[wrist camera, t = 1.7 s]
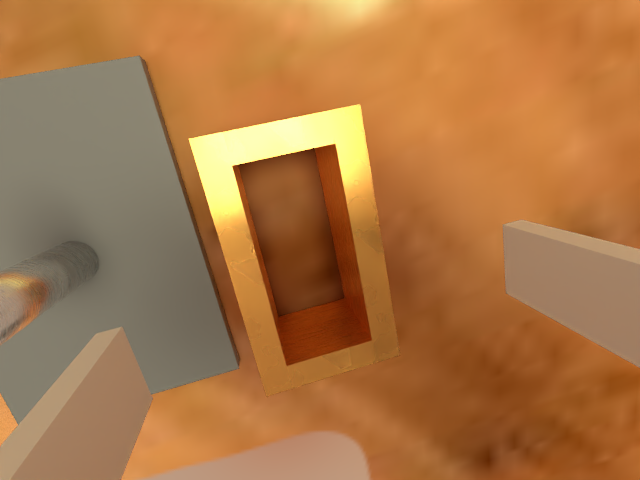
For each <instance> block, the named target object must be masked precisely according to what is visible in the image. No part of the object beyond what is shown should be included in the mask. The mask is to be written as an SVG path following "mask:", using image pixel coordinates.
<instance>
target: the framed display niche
mask: <svg viewBox="0 0 640 480" xmlns="http://www.w3.org/2000/svg"><path fill="white" fill-rule="evenodd" d="M189 141H190V144H191V148H192V151H193V154H194V158H195V161H196V164H197V168H198V171H199V174H200V178H201V181H202V184H203V188H204V191H205V194H206V198H207V201H208V204H209V207H210V211H211V214H212V217H213V221H214V224H215V227H216V231H217V234H218V237H219V241H220V244H221V247H222V251H223V254H224V257H225V261H226V264H227V267H228V271H229V274H230V277H231V281H232V284H233V287H234V291H235V294H236V297H237V301H238V304H239V307H240V311H241V314H242V317H243V321H244V324H245V327H246V331H247V334H248V337H249V341H250V344H251V347H252V351H253V354H254V357H255V361H256V364H257V367H258V371H259V374H260V377H261V381H262V384H263V387H264V391H265V394H266V397H267V396H271V395H274V394H277V393H280V392H283V391H287V390H290V389H293V388H296V387H300V386H303V385H306V384H309V383H312V382H316V381H319V380H322V379H325V378H329V377H332V376H335V375H338V374H341V373H345V372H348V371H351V370H354V369H358V368H361V367H364V366H367V365H371V364H374V363H377V362H380V361H383V360H387V359H390V358H393V357H396V356H400V350H399V344H398V338H397V331H396V325H395V319H394V313H393V306H392V300H391V294H390V288H389V282H388V275H387V269H386V263H385V257H384V251H383V244H382V238H381V232H380V226H379V220H378V213H377V207H376V201H375V195H374V189H373V182H372V176H371V170H370V164H369V157H368V151H367V145H366V139H365V133H364V126H363V120H362V114H361V108H360V105H355V106H350V107H345V108H340V109H335V110H330V111H325V112H320V113H315V114H310V115H305V116H300V117H295V118H290V119H285V120H280V121H276V122H271V123H266V124H261V125H256V126H251V127H246V128H241V129H236V130H231V131H226V132H221V133H216V134H211V135H206V136H201V137H196V138H191V139H189ZM311 148H314V149H315V154H316V159H317V164H318V169H319V174H320V179H321V183H322V188H323V193H324V198H325V203H326V208H327V213H328V218H329V223H330V228H331V233H332V238H333V243H334V247H335V252H336V257H337V262H338V267H339V272H340V277H341V282H342V287H343V292H344V297H345V298H344V299H340V300H337V301H333V302H330V303H326V304H322V305H319V306H315V307H312V308H308V309H305V310H301V311H297V312H294V313H290V314H287V315H283V316H280V317H279V316H278V313H277V309H276V305H275V301H274V298H273V294H272V290H271V287H270V283H269V279H268V275H267V272H266V268H265V264H264V260H263V257H262V253H261V249H260V245H259V242H258V238H257V234H256V230H255V227H254V223H253V219H252V215H251V212H250V208H249V204H248V200H247V197H246V193H245V189H244V185H243V182H242V178H241V174H240V171H239V167H238V164H242V163H247V162H251V161H256V160H260V159H265V158H270V157H274V156H279V155H284V154H288V153H293V152H298V151H302V150H307V149H311Z"/></svg>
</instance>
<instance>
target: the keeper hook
mask: <svg viewBox="0 0 640 480" xmlns="http://www.w3.org/2000/svg"><path fill="white" fill-rule="evenodd" d="M98 268H99V258H98V255H97V253H96V252H95V250H94V249H93V248H92V247H90V246H89V245H87V244H85V243H83V242H80V241H67V242H63V243H61V244H59V245H57V246H55V247H52V248H50V249H48V250H46V251H44V252H41V253H39V254H37V255H35V256H33V257H30V258H28V259H26V260H24V261H22V262H19V263H17V264H15V265H13V266H10V267H8V268H6V269H4V270H2V271H0V345H2V344H3V343H4V342H6V341H7V340H8V339H10V338H11V337H12V336H14V335H15V334H16V333H18V332H19V331H20V330H22V329H23V328H24V327H26V326H27V325H28V324H30V323H31V322H32V321H34V320H35V319H36V318H38V317H39V316H40V315H42V314H43V313H44V312H46V311H47V310H48V309H50V308H51V307H52V306H54V305H55V304H56V303H58V302H59V301H60V300H62V299H63V298H64V297H66V296H67V295H68V294H70V293H71V292H72V291H74V290H75V289H76V288H78V287H79V286H80V285H82V284H83V283H84V282H86V281H87V280H89V279H90V278H91V277H92V276H94V275H95V274H96V272H97V270H98Z"/></svg>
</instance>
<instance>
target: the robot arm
mask: <svg viewBox="0 0 640 480" xmlns="http://www.w3.org/2000/svg"><path fill="white" fill-rule="evenodd" d="M503 241H504V263H505V285H506V294H508V295H510V296H512V297H514V298H515V299H517V300H519V301H521V302H523V303H524V304H526V305H528V306H530V307H532V308H533V309H535V310H537V311H539V312H541V313H542V314H544V315H546V316H548V317H550V318H551V319H553V320H555V321H557V322H559V323H560V324H562V325H564V326H566V327H568V328H569V329H571V330H573V331H575V332H577V333H578V334H580V335H582V336H584V337H586V338H587V339H589V340H591V341H593V342H595V343H596V344H598V345H600V346H602V347H604V348H605V349H607V350H609V351H611V352H613V353H614V354H616V355H618V356H620V357H622V358H623V359H625V360H627V361H629V362H631V363H632V364H634V365H636V366H638V367H640V249H637V248H633V247H629V246H625V245H621V244H617V243H613V242H609V241H605V240H601V239H597V238H593V237H589V236H585V235H581V234H577V233H573V232H569V231H565V230H561V229H557V228H553V227H549V226H545V225H541V224H537V223H533V222H529V221H525V220H518V221H514V222H510V223H507V224H503ZM152 400H153V398H152V396H151V393H150V391H149V389H148V386H147V384H146V382H145V379H144V377H143V375H142V372H141V370H140V367H139V365H138V363H137V360H136V358H135V356H134V353H133V351H132V349H131V346H130V344H129V342H128V339H127V337H126V334H125V332H124V330H123V327H119V328H115V329H111V330H108V331H104V332H100V333H96V334H95V335H94V336H93V338H92V339H91V340H90V341H89V342H88V344H87V345H86V346H85V347H84V348H83V349H82V351H81V352H80V353H79V354H78V355H77V357H76V358H75V359H74V360H73V361H72V362H71V364H70V365H69V366H68V367H67V368H66V369H65V371H64V372H63V373H62V374H61V375H60V377H59V378H58V379H57V380H56V381H55V382H54V384H53V385H52V386H51V387H50V388H49V389H48V391H47V392H46V393H45V394H44V395H43V397H42V398H41V399H40V400H39V401H38V402H37V404H36V405H35V406H34V407H33V408H32V410H31V411H30V412H29V413H28V414H27V415H26V417H25V418H24V419H23V420H22V421H21V422H20V424H19V425H18V426H17V427H16V428H15V430H14V431H13V432H12V433H11V434H10V435H9V437H8V438H7V439H6V440H5V441H4V442H3V444H2V445H1V446H0V480H121V478H122V475H123V473H124V470H125V468H126V465H127V463H128V460H129V458H130V455H131V453H132V450H133V448H134V445H135V443H136V440H137V437H138V435H139V432H140V430H141V427H142V425H143V422H144V420H145V417H146V415H147V412H148V410H149V407H150V405H151V402H152Z"/></svg>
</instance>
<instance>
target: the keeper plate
mask: <svg viewBox="0 0 640 480" xmlns="http://www.w3.org/2000/svg"><path fill="white" fill-rule="evenodd" d="M67 241H80V242H83V243H85V244H87V245H89V246H90V247H92V248H93V249H94V250H95V252H96V253H97V255H98V258H99V268H98V270H97V272H96V274H95V275H94V276H92V277H91V278H90V279H89V280H87V281H86V282H84V283H83V284H82V285H80V286H79V287H78V288H76V289H75V290H74V291H72V292H71V293H70V294H68V295H67V296H66V297H64V298H63V299H62V300H60V301H59V302H58V303H56V304H55V305H54V306H52V307H51V308H50V309H48V310H47V311H46V312H44V313H43V314H42V315H40V316H39V317H38V318H36V319H35V320H34V321H32V322H31V323H30V324H28V325H27V326H26V327H24V328H23V329H22V330H20V331H19V332H18V333H16V334H15V335H14V336H12V337H11V338H10V339H8V340H7V341H6V342H4V343H3V344H2V345H0V393H1V395H2V397H3V398H4V400H5V402H6V404H7V406H8V407H9V409H10V411H11V413H12V415H13V416H14V418H15V420H16V422H17V423H18V425H19V424H20V422H21V421H22V420H23V419H24V418H25V417H26V415H27V414H28V413H29V412H30V411H31V410H32V408H33V407H34V406H35V405H36V404H37V402H38V401H39V400H40V399H41V398H42V397H43V395H44V394H45V393H46V392H47V391H48V389H49V388H50V387H51V386H52V385H53V384H54V382H55V381H56V380H57V379H58V378H59V377H60V375H61V374H62V373H63V372H64V371H65V369H66V368H67V367H68V366H69V365H70V364H71V362H72V361H73V360H74V359H75V358H76V357H77V355H78V354H79V353H80V352H81V351H82V349H83V348H84V347H85V346H86V345H87V344H88V342H89V341H90V340H91V339H92V338H93V336H94V335H95V334H96V333H100V332H104V331H108V330H111V329H115V328H119V327H123V330H124V332H125V334H126V337H127V339H128V342H129V344H130V346H131V349H132V351H133V353H134V356H135V358H136V360H137V363H138V365H139V367H140V370H141V372H142V375H143V377H144V379H145V382H146V384H147V386H148V389H149V391H150V393H151V394H155V393H158V392H162V391H165V390H168V389H172V388H175V387H178V386H182V385H185V384H189V383H192V382H195V381H199V380H202V379H205V378H209V377H212V376H216V375H219V374H222V373H226V372H229V371H233V370H236V369H239V361H240V360H239V357H238V354H237V351H236V348H235V344H234V341H233V338H232V335H231V332H230V329H229V325H228V322H227V319H226V316H225V313H224V310H223V306H222V303H221V300H220V297H219V294H218V291H217V287H216V284H215V281H214V278H213V275H212V272H211V268H210V265H209V262H208V259H207V256H206V253H205V249H204V246H203V243H202V240H201V237H200V234H199V230H198V227H197V224H196V221H195V218H194V215H193V211H192V208H191V205H190V202H189V199H188V196H187V192H186V189H185V186H184V183H183V180H182V177H181V173H180V170H179V167H178V164H177V161H176V158H175V154H174V151H173V148H172V145H171V142H170V139H169V135H168V132H167V129H166V126H165V123H164V120H163V116H162V113H161V110H160V107H159V104H158V101H157V97H156V94H155V91H154V88H153V85H152V82H151V78H150V75H149V72H148V69H147V66H146V63H145V60H143V59H142V58H141V57H140V56H135V57H129V58H123V59H117V60H111V61H105V62H99V63H93V64H87V65H81V66H75V67H69V68H63V69H57V70H51V71H45V72H39V73H33V74H27V75H21V76H15V77H9V78H3V79H0V271H2V270H4V269H6V268H8V267H10V266H13V265H15V264H17V263H19V262H22V261H24V260H26V259H28V258H30V257H33V256H35V255H37V254H39V253H41V252H44V251H46V250H48V249H50V248H52V247H55V246H57V245H59V244H61V243H63V242H67Z"/></svg>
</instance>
